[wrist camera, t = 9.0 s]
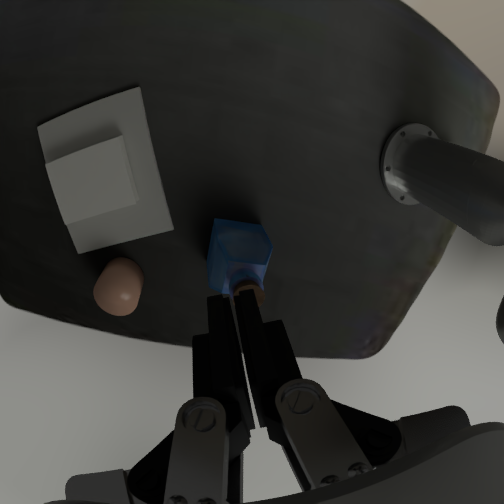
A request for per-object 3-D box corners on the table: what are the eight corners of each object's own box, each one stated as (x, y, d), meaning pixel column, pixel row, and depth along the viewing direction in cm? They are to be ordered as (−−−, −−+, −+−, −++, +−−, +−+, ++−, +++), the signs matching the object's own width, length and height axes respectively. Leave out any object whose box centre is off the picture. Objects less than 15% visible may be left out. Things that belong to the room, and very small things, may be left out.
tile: (118, 136, 27) (45, 164, 26) (136, 203, 31) (65, 225, 30) (122, 134, 29) (52, 161, 28) (139, 198, 33) (71, 218, 32)
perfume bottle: (206, 260, 39) (212, 320, 29) (214, 218, 37) (222, 267, 26) (251, 265, 41) (270, 323, 30) (261, 224, 38) (287, 274, 28)
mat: (140, 87, 27) (139, 86, 27) (173, 227, 36) (173, 229, 36) (39, 126, 26) (37, 127, 26) (79, 251, 35) (78, 254, 34)
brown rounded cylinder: (145, 260, 37) (138, 280, 33) (143, 297, 40) (137, 318, 35) (103, 254, 36) (92, 272, 32) (104, 290, 38) (95, 311, 34)
